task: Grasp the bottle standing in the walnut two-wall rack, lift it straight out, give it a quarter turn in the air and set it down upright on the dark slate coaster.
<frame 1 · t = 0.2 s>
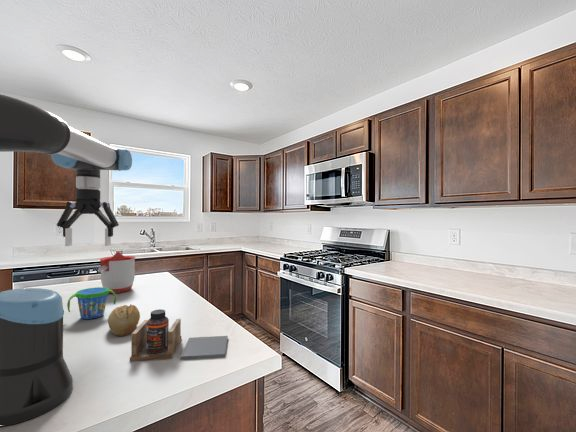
hand: (88, 245, 107), 28 cm above the table, fingers open, 13 cm apart
rack: (157, 349, 85), on the table
supplement bottle: (157, 350, 85), resting in rack
coaster: (205, 348, 86), on the table
citrus juicer: (116, 291, 146), on the table
bread roll: (124, 329, 99), on the table
snack cup: (92, 317, 111), on the table
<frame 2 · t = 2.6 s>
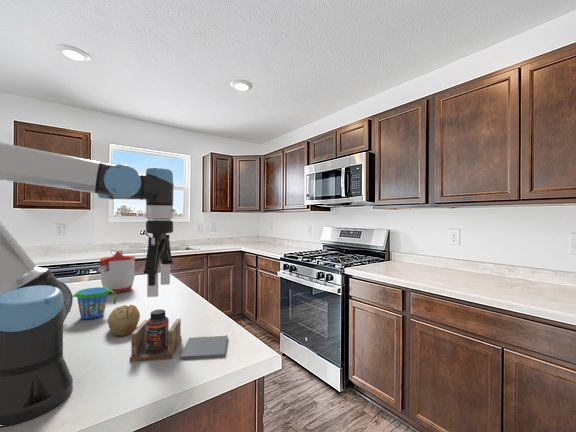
hand: (159, 290, 87), 17 cm above the table, fingers open, 13 cm apart
nothing on the table moved.
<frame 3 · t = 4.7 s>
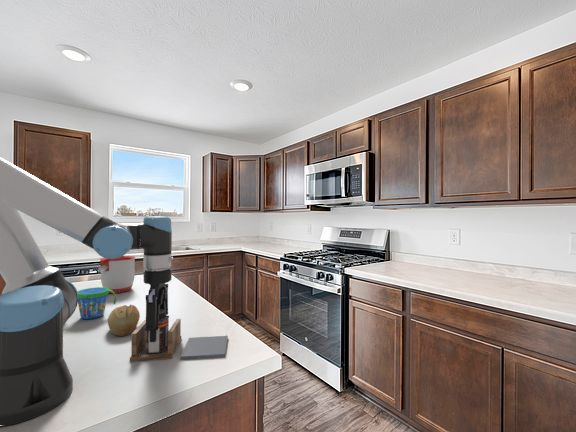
hand: (157, 346, 85), 1 cm above the table, fingers closed on supplement bottle, 6 cm apart
supplement bottle: (157, 349, 85), resting in rack, touching gripper
everything else where it was.
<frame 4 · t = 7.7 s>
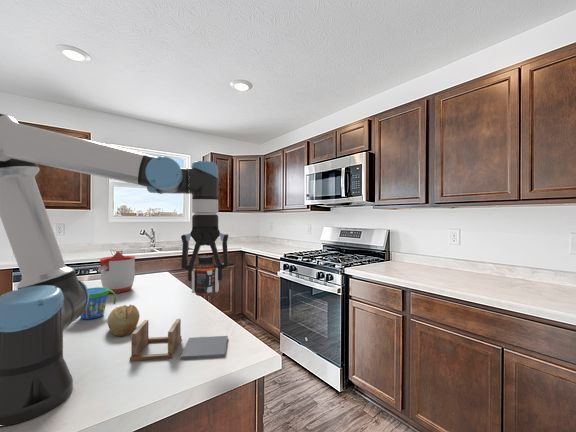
hand: (205, 291, 85), 17 cm above the table, fingers closed on supplement bottle, 6 cm apart
supplement bottle: (205, 294, 86), point 16 cm above the table, touching gripper
everything else where it was.
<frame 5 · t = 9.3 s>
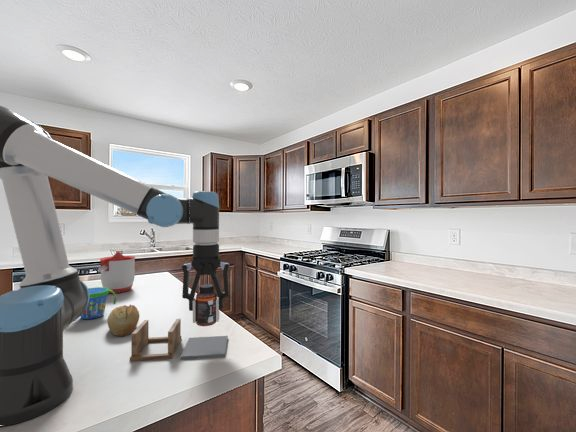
hand: (206, 320, 86), 8 cm above the table, fingers closed on supplement bottle, 6 cm apart
supplement bottle: (206, 323, 86), point 7 cm above the table, touching gripper
everything else where it was.
when the fingers open (3 cm above the table, at t = 10.6 s): supplement bottle drops 2 cm, resting on coaster.
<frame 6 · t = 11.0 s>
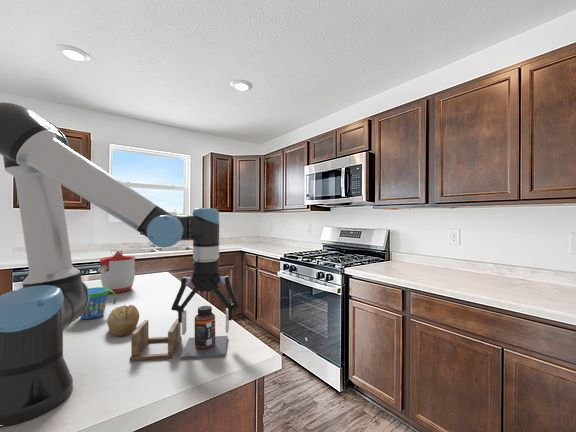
hand: (205, 332, 86), 5 cm above the table, fingers open, 12 cm apart
supplement bottle: (205, 345, 86), point 1 cm above the table, touching coaster
everything else where it was.
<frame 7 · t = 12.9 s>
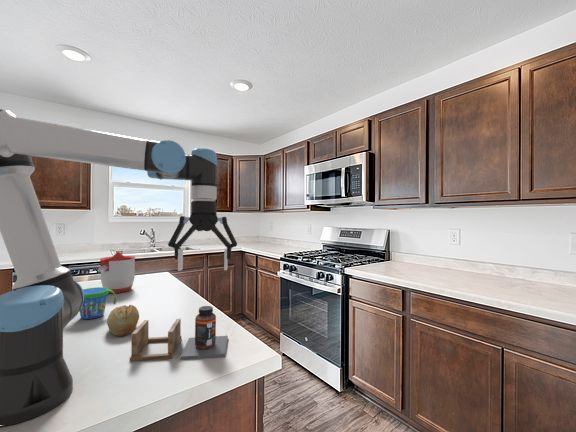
hand: (203, 269, 88), 23 cm above the table, fingers open, 13 cm apart
nothing on the table moved.
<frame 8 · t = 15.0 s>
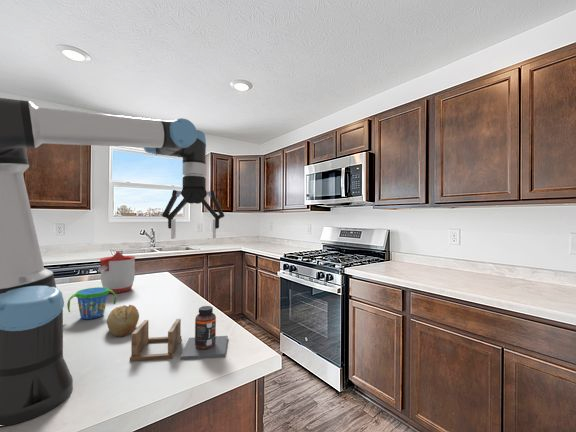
hand: (194, 238, 98), 32 cm above the table, fingers open, 13 cm apart
nothing on the table moved.
at the end: supplement bottle 0.2 cm from the coaster (horizontally); supplement bottle tilted 0°; the gripper is holding nothing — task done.
